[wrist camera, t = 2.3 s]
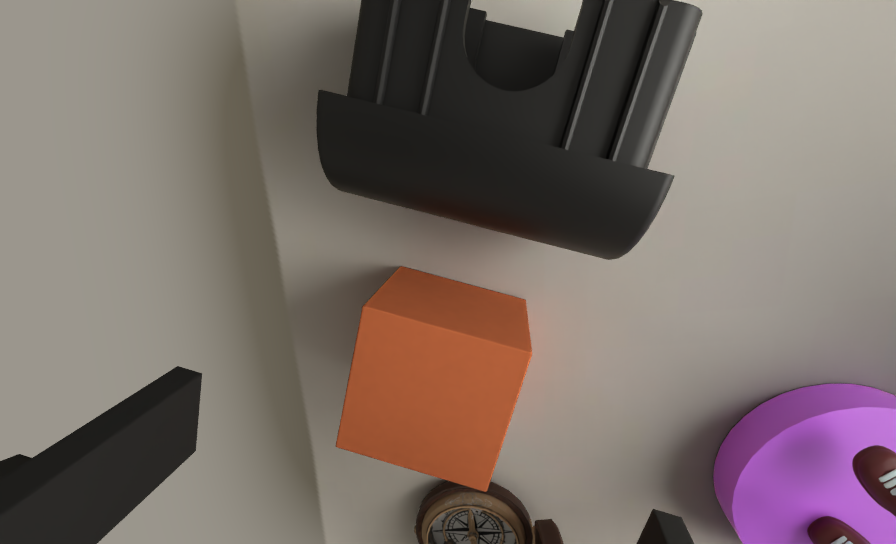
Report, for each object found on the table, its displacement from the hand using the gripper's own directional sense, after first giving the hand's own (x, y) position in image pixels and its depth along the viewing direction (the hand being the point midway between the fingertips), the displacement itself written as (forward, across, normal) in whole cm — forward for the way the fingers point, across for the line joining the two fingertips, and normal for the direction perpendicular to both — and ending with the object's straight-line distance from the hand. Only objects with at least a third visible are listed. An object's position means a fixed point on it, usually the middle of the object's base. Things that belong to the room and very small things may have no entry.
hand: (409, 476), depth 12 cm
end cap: (+9, 0, +10) cm, 14 cm away
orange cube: (+9, 0, 0) cm, 9 cm away
